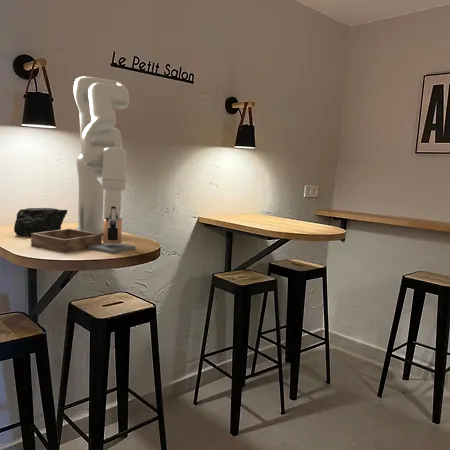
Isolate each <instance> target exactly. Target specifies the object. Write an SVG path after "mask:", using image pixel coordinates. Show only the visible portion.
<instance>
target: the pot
mask: <svg viewBox="0 0 450 450" xmlns="http://www.w3.org/2000/svg"><path fill="white" fill-rule="evenodd" d="M110 219H111V218H110ZM115 219H116V218H115ZM117 219H118V218H117ZM103 221H104V223H103V234H102V243H109V244H117V243H122V234H123V233H122V230H123V227H122V226H123V218H121V217H120V218H119V220H117V228H118V240H108V228H109V218H106V220H105V219H104V218H103ZM110 222H111V221H110ZM110 225H111V224H110Z"/></svg>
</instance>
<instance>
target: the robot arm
mask: <svg viewBox="0 0 450 450" xmlns="http://www.w3.org/2000/svg"><path fill="white" fill-rule="evenodd" d="M73 83H74V84H73V95H74V99H75V103H76V105H77V109H78V111H79V113H78V114H79V137H80V139H79V140H80V149H81V154H79V155H78V157H77V158H76V169H77V171H76V172H77V177H78V206H77V207H78V211H77V212H78V214H77V215H78V216H77V217H78V218H77V221H78V224H77V225H78V226H77V227H76V228H73V229H74V230H80V231H85V232H91V233H96V234H101V235H103V223H104V219H105V220H106V218H109V228H108V240H118V228H117V220H119V218H121V216H120V215H121V208H122V191H125V190H126V175H127V172H126V171H127V151H126V149H124V148H123V139H122V133H121V131H120V130H119V128H117V127H115V126H116V123H117V117H116V110H115V109H118V110H126V109H127V108H128V106H129V104H130V94H129V91H128V88H127V87H126V86H125V85H124V84H123V83H121V82H120V81H118V80H113V79H108V78H107V79H106V78H100V77H92V76H79V77H78V78H76V79H75V81H74V82H73ZM98 178H99V179H100V178H101V180H102V181H101V182H100V181H99V179H98ZM110 218H111V219H110ZM115 218H116V219H115ZM117 218H118V219H117ZM110 221H111V222H110ZM110 224H111V225H110Z"/></svg>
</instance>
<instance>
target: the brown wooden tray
mask: <svg viewBox="0 0 450 450" xmlns="http://www.w3.org/2000/svg"><path fill="white" fill-rule="evenodd" d="M74 229H75V228H63V229H62V228H61V230H54V231H47V232H39V233H31V235H30V245H31V246H34V247H37V248H42V249H47V250H50V251H56V252H59V253H70V252H75V251H79V250H80V251H81V250H86V249H87V250H88V246H90V245H95V244H101V243H102V241H103V234H96V233H91V232H85V231H80V230H74Z"/></svg>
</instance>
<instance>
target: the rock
mask: <svg viewBox="0 0 450 450" xmlns="http://www.w3.org/2000/svg"><path fill="white" fill-rule="evenodd" d="M67 214H68V209H58V208H54V207H53V208H52V207H35V208H34V207H28V208H24V209H23V208H22V209H21V208H20V209H19V210H18V212H17V214H16V219H15V221H14V227H13V231H14V233H15V235H16V236H25V237H27V236H28V237H31V233H39V232H47V231H54V230H62V225H63V222H64V220H65V218H66V215H67Z"/></svg>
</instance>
